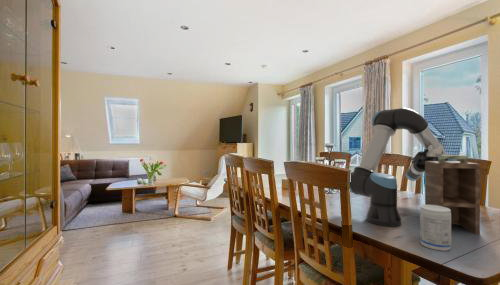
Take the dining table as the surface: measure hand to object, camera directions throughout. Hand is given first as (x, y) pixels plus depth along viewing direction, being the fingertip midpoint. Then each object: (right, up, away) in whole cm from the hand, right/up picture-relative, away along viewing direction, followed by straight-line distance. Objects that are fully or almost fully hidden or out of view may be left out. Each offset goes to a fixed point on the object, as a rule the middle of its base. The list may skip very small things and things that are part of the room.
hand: (436, 147), depth 126 cm
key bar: (0, -5, -2) cm, 5 cm away
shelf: (-3, -37, -12) cm, 39 cm away
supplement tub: (-25, -37, -32) cm, 55 cm away
